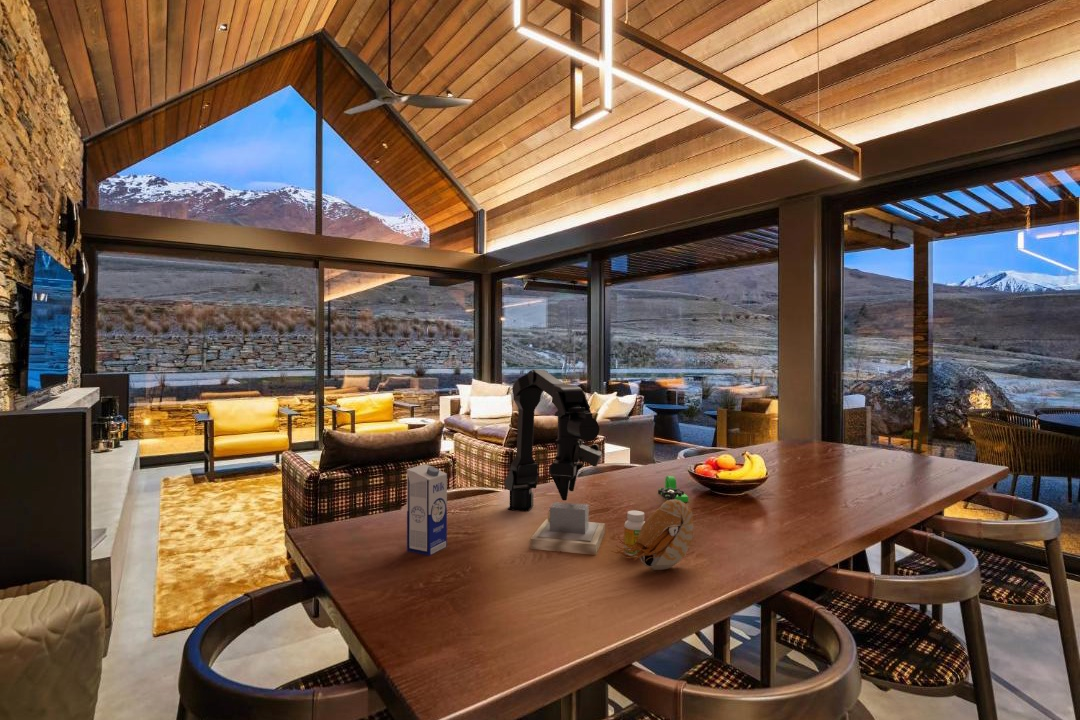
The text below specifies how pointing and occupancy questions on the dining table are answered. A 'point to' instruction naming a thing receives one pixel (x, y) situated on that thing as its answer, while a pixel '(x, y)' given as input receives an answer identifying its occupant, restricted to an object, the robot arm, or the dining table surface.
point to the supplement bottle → (633, 529)
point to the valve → (671, 493)
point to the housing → (569, 517)
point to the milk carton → (426, 510)
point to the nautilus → (664, 536)
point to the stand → (568, 539)
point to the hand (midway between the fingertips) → (568, 495)
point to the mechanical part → (671, 483)
